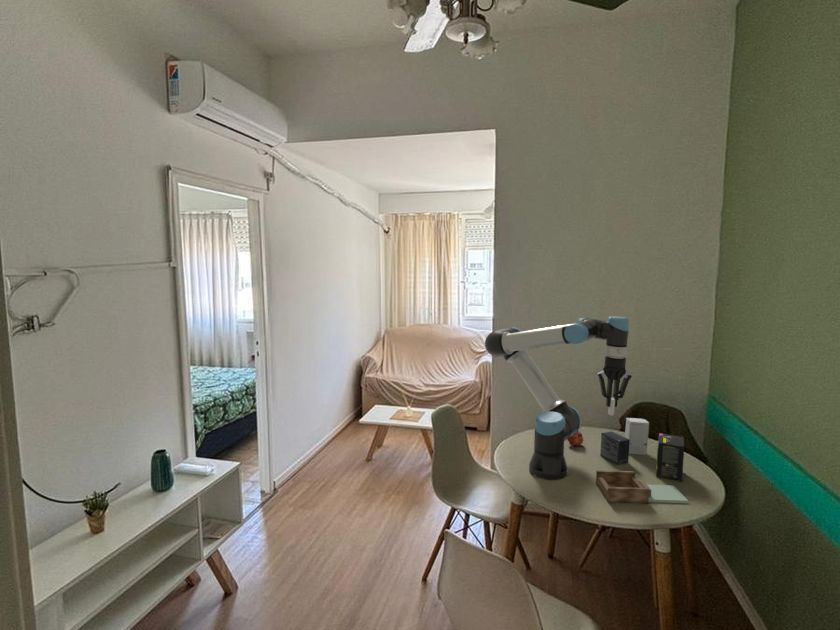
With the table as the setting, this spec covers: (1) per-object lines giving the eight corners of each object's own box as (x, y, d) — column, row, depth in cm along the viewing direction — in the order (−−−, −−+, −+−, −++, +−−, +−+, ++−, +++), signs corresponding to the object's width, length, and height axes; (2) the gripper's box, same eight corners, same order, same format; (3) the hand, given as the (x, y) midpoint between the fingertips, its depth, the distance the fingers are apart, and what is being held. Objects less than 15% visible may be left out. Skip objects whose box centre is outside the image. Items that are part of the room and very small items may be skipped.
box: (608, 502, 169) (608, 488, 169) (595, 483, 183) (596, 470, 183) (648, 503, 169) (649, 489, 168) (632, 484, 183) (633, 471, 182)
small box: (629, 463, 202) (631, 439, 200) (617, 465, 199) (618, 441, 198) (611, 453, 211) (612, 430, 210) (599, 455, 209) (600, 432, 208)
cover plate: (647, 503, 170) (648, 492, 170) (635, 488, 181) (636, 478, 181) (687, 504, 169) (688, 494, 169) (673, 489, 180) (674, 479, 180)
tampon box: (656, 466, 199) (658, 432, 197) (681, 470, 194) (684, 436, 192) (655, 477, 189) (657, 441, 187) (682, 482, 185) (684, 446, 183)
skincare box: (628, 454, 210) (629, 422, 208) (623, 448, 216) (625, 417, 214) (647, 455, 209) (649, 422, 207) (642, 449, 215) (644, 417, 213)
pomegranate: (563, 448, 222) (574, 442, 214) (560, 433, 226) (570, 426, 217) (578, 448, 224) (589, 443, 215) (575, 433, 227) (585, 427, 219)
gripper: (601, 357, 182) (596, 417, 185) (636, 359, 181) (631, 418, 184) (595, 353, 189) (591, 410, 193) (629, 354, 188) (624, 411, 192)
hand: (610, 414), depth 188 cm, fingers closed
